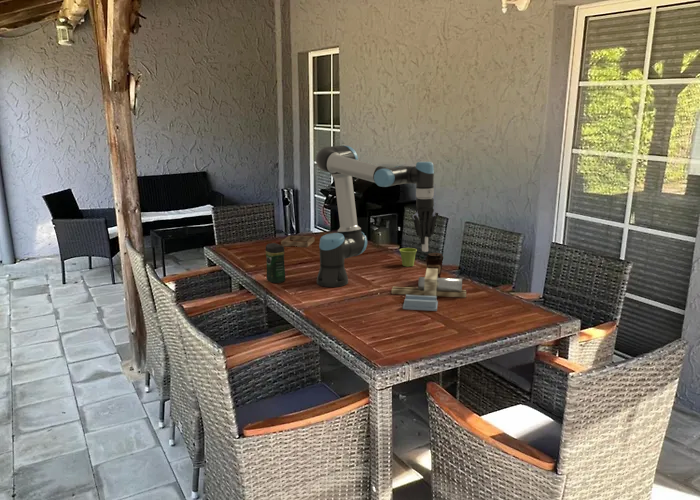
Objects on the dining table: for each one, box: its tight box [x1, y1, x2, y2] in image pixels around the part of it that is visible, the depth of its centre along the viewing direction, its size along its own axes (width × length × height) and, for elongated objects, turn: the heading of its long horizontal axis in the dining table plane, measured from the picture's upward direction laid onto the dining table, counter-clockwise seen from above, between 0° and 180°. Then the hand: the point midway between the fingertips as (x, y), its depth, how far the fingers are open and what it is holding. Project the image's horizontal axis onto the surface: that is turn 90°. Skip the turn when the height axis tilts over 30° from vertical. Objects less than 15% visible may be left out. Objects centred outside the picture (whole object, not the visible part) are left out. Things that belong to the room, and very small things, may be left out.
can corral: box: [280, 235, 315, 248], centre depth 353 cm, size 17×17×3 cm
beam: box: [391, 267, 467, 298], centre depth 251 cm, size 33×18×10 cm, turn 79°
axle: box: [417, 276, 463, 292], centre depth 250 cm, size 19×6×6 cm, turn 79°
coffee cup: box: [425, 252, 444, 278], centre depth 272 cm, size 9×8×13 cm
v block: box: [402, 294, 439, 312], centre depth 235 cm, size 14×10×4 cm
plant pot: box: [399, 247, 418, 268], centre depth 299 cm, size 9×9×9 cm
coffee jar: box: [265, 242, 286, 284], centre depth 272 cm, size 10×8×19 cm
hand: (425, 251), depth 247 cm, fingers closed
